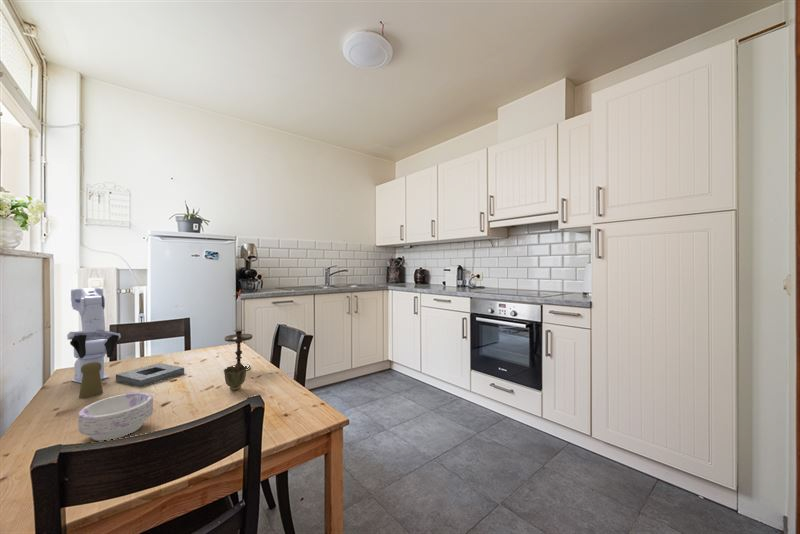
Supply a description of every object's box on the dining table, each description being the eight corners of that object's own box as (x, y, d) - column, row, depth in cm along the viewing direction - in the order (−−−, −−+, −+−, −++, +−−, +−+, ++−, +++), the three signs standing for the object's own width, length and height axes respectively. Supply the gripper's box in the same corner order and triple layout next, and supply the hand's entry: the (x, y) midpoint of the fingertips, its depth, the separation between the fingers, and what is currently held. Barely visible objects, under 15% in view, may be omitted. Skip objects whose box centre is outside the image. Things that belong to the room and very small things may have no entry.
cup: (223, 395, 112) (223, 372, 112) (223, 388, 119) (224, 366, 119) (247, 391, 116) (247, 369, 116) (246, 384, 122) (246, 363, 122)
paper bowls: (61, 444, 81) (61, 413, 81) (122, 416, 96) (122, 390, 96) (111, 450, 78) (111, 418, 78) (166, 421, 93) (166, 394, 93)
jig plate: (115, 380, 125) (115, 374, 125) (159, 368, 140) (159, 362, 140) (140, 387, 119) (140, 380, 119) (184, 373, 134) (184, 367, 134)
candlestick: (244, 364, 147) (244, 287, 147) (257, 368, 141) (257, 289, 141) (219, 370, 139) (220, 289, 138) (232, 375, 132) (232, 290, 132)
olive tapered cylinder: (88, 398, 108) (88, 366, 108) (74, 397, 110) (74, 365, 110) (107, 391, 114) (107, 361, 114) (94, 390, 115) (94, 360, 115)
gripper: (74, 316, 112) (75, 350, 106) (123, 319, 125) (127, 350, 119) (63, 327, 114) (64, 361, 108) (113, 329, 126) (116, 360, 121)
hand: (96, 356), depth 114 cm, fingers open, 7 cm apart
